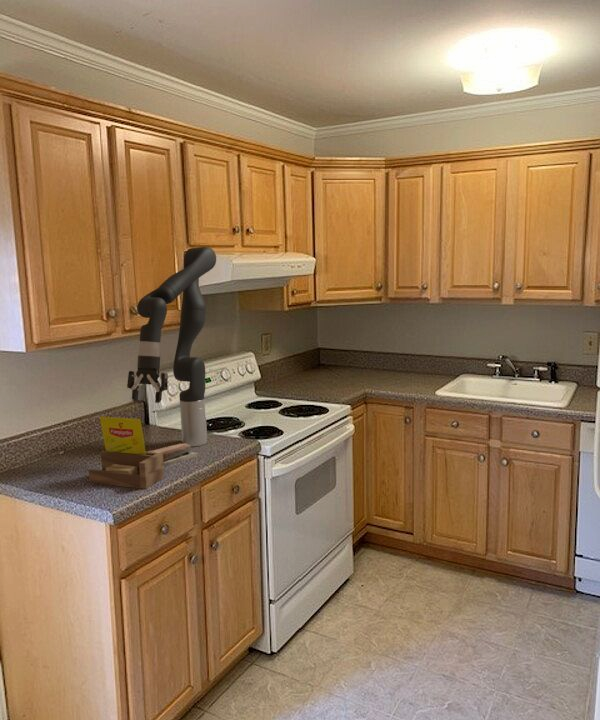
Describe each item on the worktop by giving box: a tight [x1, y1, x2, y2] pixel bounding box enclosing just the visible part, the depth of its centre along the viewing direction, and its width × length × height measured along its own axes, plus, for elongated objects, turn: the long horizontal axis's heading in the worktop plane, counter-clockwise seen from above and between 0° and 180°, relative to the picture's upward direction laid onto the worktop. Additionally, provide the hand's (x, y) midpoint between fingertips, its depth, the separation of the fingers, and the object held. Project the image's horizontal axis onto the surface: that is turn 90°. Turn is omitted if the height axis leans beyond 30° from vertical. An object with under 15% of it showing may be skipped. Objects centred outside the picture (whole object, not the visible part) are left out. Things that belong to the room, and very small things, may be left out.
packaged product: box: [147, 443, 198, 467], centre depth 207 cm, size 18×5×10 cm
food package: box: [99, 416, 147, 455], centre depth 189 cm, size 15×1×20 cm, turn 70°
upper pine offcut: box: [106, 464, 138, 474], centre depth 186 cm, size 4×9×2 cm, turn 68°
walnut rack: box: [88, 450, 165, 490], centre depth 187 cm, size 10×21×8 cm, turn 71°
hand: (146, 401), depth 204 cm, fingers open, 8 cm apart
